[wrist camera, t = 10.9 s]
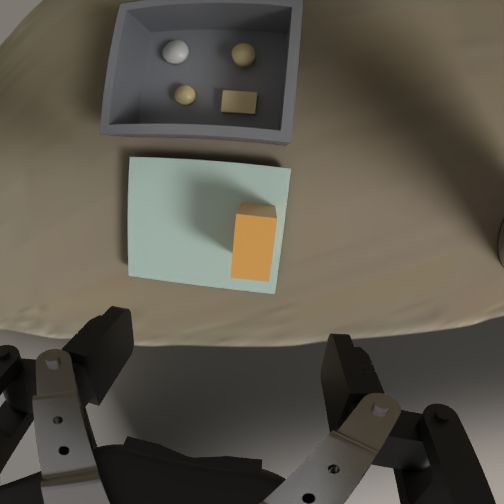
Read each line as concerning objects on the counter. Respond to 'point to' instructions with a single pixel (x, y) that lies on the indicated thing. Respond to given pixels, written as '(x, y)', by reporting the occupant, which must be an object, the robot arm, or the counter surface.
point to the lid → (206, 222)
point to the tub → (204, 70)
